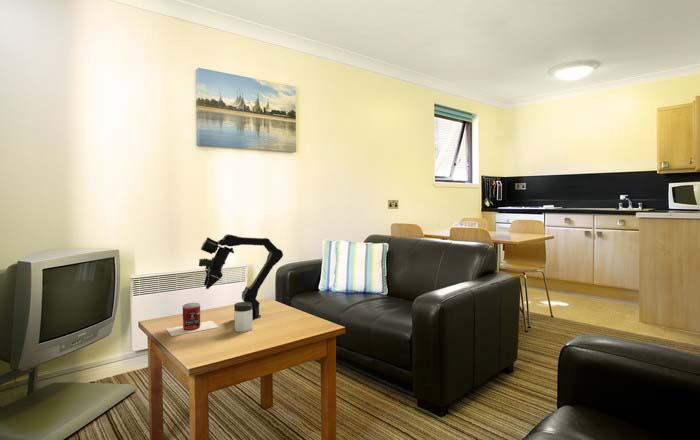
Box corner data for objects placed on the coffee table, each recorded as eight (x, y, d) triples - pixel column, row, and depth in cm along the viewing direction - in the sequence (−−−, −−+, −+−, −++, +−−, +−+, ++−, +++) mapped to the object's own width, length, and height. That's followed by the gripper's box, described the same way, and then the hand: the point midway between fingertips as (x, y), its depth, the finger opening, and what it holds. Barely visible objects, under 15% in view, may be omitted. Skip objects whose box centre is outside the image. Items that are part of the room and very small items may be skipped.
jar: (253, 331, 177) (253, 305, 177) (235, 333, 175) (234, 307, 174) (251, 325, 186) (251, 300, 185) (234, 327, 183) (233, 302, 183)
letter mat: (211, 321, 193) (211, 320, 193) (219, 327, 183) (219, 326, 183) (166, 329, 180) (166, 328, 180) (171, 336, 170) (171, 335, 170)
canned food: (183, 331, 176) (183, 307, 175) (182, 326, 183) (181, 303, 183) (201, 329, 179) (201, 305, 179) (199, 324, 186) (199, 302, 186)
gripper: (203, 249, 196) (188, 277, 194) (206, 253, 179) (190, 284, 177) (223, 258, 201) (209, 285, 198) (228, 262, 184) (213, 293, 181)
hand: (205, 287), depth 188 cm, fingers open, 9 cm apart
